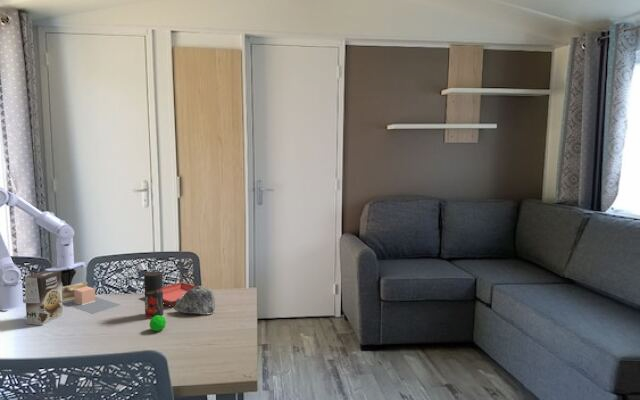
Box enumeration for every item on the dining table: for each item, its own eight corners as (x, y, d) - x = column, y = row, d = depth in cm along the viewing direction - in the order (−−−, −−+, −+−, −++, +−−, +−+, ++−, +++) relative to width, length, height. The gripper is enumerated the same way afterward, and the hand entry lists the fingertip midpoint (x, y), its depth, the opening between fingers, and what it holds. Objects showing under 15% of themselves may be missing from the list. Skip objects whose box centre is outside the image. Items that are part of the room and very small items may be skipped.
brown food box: (42, 326, 143) (40, 278, 142) (26, 324, 145) (23, 276, 143) (64, 316, 152) (62, 270, 151) (48, 314, 154) (45, 269, 152)
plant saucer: (181, 289, 186) (181, 281, 185) (210, 297, 175) (210, 289, 175) (143, 300, 171) (142, 291, 171) (171, 310, 160) (171, 301, 160)
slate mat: (54, 301, 167) (54, 300, 167) (82, 293, 176) (82, 292, 176) (92, 314, 154) (92, 313, 154) (121, 305, 163) (121, 304, 163)
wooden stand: (55, 300, 166) (55, 287, 166) (83, 293, 175) (83, 280, 175) (64, 303, 163) (63, 290, 162) (92, 295, 172) (92, 283, 172)
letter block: (74, 302, 165) (74, 289, 164) (87, 298, 169) (87, 286, 169) (82, 305, 162) (81, 291, 162) (95, 301, 167) (94, 288, 166)
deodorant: (166, 313, 156) (165, 272, 155) (155, 319, 151) (154, 276, 149) (153, 311, 158) (152, 270, 157) (141, 316, 153) (140, 274, 151)
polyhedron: (150, 334, 138) (150, 320, 138) (148, 328, 142) (148, 314, 142) (167, 331, 140) (167, 317, 140) (165, 326, 145) (164, 312, 144)
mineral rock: (172, 313, 156) (171, 286, 155) (193, 304, 166) (193, 278, 165) (199, 320, 150) (198, 292, 149) (220, 311, 160) (219, 284, 159)
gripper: (51, 259, 162) (53, 295, 163) (89, 252, 174) (90, 285, 176) (41, 257, 166) (43, 292, 167) (79, 250, 178) (80, 282, 179)
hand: (66, 288), depth 172 cm, fingers closed
